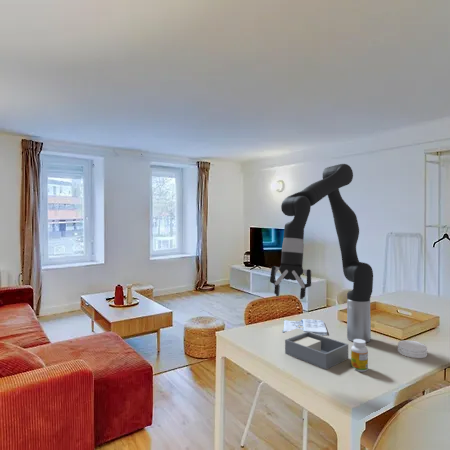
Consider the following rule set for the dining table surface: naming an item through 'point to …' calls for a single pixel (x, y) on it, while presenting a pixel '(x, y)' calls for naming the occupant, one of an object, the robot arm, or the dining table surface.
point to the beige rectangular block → (309, 343)
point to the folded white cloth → (306, 326)
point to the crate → (325, 358)
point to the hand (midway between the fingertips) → (289, 297)
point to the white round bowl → (412, 349)
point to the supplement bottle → (359, 355)
